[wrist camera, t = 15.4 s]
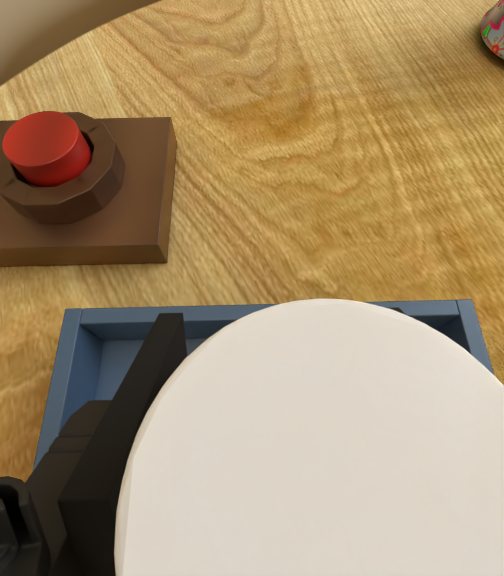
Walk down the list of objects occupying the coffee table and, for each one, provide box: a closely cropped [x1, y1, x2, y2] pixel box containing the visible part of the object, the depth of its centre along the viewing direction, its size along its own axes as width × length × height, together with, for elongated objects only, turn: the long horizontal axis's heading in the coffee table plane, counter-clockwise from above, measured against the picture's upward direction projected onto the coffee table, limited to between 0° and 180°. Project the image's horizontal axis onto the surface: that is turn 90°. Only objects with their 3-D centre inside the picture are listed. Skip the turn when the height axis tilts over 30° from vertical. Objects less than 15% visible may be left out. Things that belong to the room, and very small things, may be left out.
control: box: [0, 112, 177, 266], centre depth 22 cm, size 12×10×4 cm
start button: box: [2, 111, 91, 187], centre depth 20 cm, size 4×4×2 cm
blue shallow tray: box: [33, 299, 494, 471], centre depth 16 cm, size 20×14×4 cm
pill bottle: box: [114, 299, 504, 576], centre depth 9 cm, size 6×6×11 cm
